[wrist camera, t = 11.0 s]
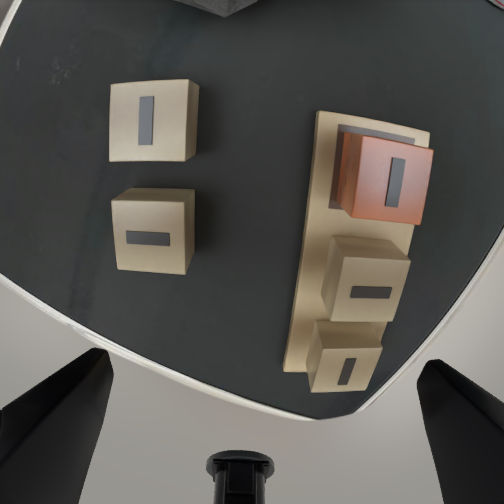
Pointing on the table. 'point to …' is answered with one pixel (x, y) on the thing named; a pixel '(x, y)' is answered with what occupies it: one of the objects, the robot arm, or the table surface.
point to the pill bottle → (498, 3)
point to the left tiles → (154, 149)
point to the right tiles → (354, 311)
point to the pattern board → (335, 223)
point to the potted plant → (219, 5)
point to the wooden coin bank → (383, 179)
